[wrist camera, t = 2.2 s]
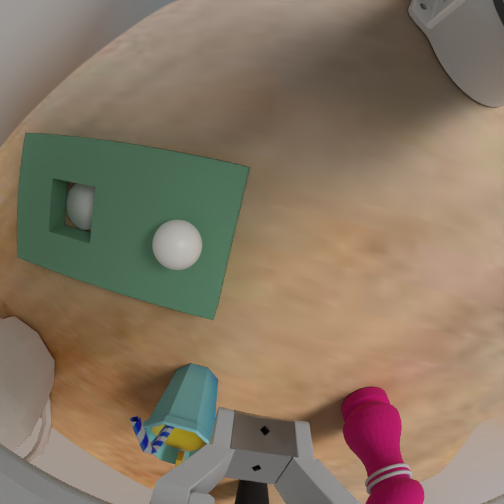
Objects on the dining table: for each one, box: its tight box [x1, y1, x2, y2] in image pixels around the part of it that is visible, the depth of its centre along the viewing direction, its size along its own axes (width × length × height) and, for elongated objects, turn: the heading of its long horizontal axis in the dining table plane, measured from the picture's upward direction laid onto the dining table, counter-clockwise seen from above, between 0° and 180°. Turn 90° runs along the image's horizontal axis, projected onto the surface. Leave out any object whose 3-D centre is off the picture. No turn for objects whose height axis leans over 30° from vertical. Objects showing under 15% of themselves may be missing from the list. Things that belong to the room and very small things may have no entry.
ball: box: [152, 220, 202, 270], centre depth 24 cm, size 4×4×4 cm
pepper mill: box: [342, 387, 424, 504], centre depth 25 cm, size 7×7×20 cm
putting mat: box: [17, 133, 250, 320], centre depth 27 cm, size 14×24×3 cm, turn 76°
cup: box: [130, 363, 218, 467], centre depth 26 cm, size 14×8×15 cm, turn 8°
